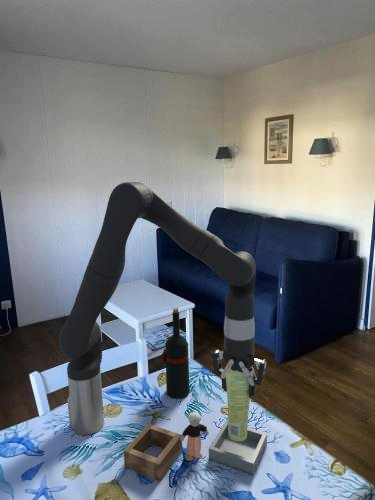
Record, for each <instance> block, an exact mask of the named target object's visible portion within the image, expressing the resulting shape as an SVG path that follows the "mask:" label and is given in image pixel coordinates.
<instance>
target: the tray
mask: <svg viewBox="0 0 375 500" xmlns="http://www.w3.org/2000/svg"><path fill="white" fill-rule="evenodd" d="M267 445H268V432H267V433H266V432H264V431H260V430H257V429H253V428H250V427H248V428H247V438H246V439H245V440H244V441H234V440H232V439H230V437H229V435H228V420H227V421H224V422H223V425H222V427H221V428H220V429H219V431H218V433H217V434H216V436H215V438H214V440H213V441H212V443H210V446H209V447H208V461H210V462H214V463H215V464H219V465H222V466H225V467H228V468H231V469H233V470H236V471H238V472H241V473H244V474H247V475H249V476H252V477H253V476H254V475H255V473H256V471H257V468H258V466H259V464H260V461H261V459H262V456H263V455H264V452H265V450H266V447H267Z"/></svg>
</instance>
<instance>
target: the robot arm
mask: <svg viewBox="0 0 375 500" xmlns="http://www.w3.org/2000/svg"><path fill="white" fill-rule="evenodd" d="M138 219H143V220H145V221H147V222H149V223H151V224H153V225H156V227H158V228H159V229H161V230H162V231H164V232H165V233H166V234H167V235H168V236H169V237H170V238H171V239H172V240H173V241H174V242H175V244H177V245H178V247H180V248H182V249H183V250H184V251H186V253H189V254H190V255H191V256H193V257H194V258H196V259H197V260H199V261H201V262H202V263H204V264H206V266H208V268H210V269H211V271H213V272H214V273H215V274H216V275H217V276H218V277H219V278H220V279H222V280H223V281H224V282H226V283H227V284H228V285H227V292H226V295H225V301H224V302H225V304H224V307H225V308H224V315H225V316H224V323H223V349H224V350H223V351H221V350H220V349H216V350H215V351H213V353H212V363H213V369H214V370H213V371H214V374H215V375H216V376H217V375H219V376H220V377H221V388H222V389H223V392H226V393H227V386H226V376H225V372H226V373H228V372H229V370H230V369H232V370H233V371H239V372H242V373H244V375H245V377H246V378H247V379H248V381H249V383H250V384H249V398H250V399H253V397H256V396H255V395H256V394H257V386H261V385H262V383H263V382H264V380H265V376H266V370H267V364H268V361H267V359H265V358H263V359H258V358H257V357H256V355H255V336H256V335H255V332H256V331H255V330H256V328H255V327H256V326H255V324H256V322H255V299H254V297H255V296H254V294H255V286H256V276H257V263H256V260H255V259H254V257H253V255H251V254H250V253H248V252H247V251H237V252H233V251H232V250H231V249H229V248H228V247H226V246H225V244H224V241H223V240H222V239H220V237H218V236H217V235H215V234H213V233H211V231H209V230H207V229H205V228H204V227H202V225H201V226H200V225H199V224H198V223H197V222H196V223H195V222H194V221H193V220H191V219H189V218H188V217H187V216H185V215H183V214H182V213H180V212H179V211H177V210H176V209H175V208H174V207H172V206H171V205H170V204H168V203H167V202H166V201H165V200H164V199H163V198H162V197H160V196H159V195H158V193H156V192H155V191H154V190H152V188H150V187H149V186H148V185H146V184H145V183H142V182H139V181H126V182H122V183H121V182H120V183H119V184H117V185H116V186H115V187H114V188H113V189H112V191H111V193H110V195H109V197H108V202H107V206H106V209H105V214H104V218H103V222H102V224H101V225H102V226H101V229H100V232H99V235H98V237H97V239H96V242H95V246H94V248H93V250H92V254H91V256H90V257H89V258H90V259H89V261H88V263H87V265H86V268H85V271H84V273H83V276H82V281H81V284H80V286H79V289H78V291H77V294H76V297H75V300H74V304H73V306H72V308H71V310H70V313H69V315H68V317H67V318H66V321H65V323H64V325H63V326H62V329H61V331H60V332H59V335H58V347H59V349H60V351H61V353H62V354H63V355H64V356H65V357H67V358H70V359H69V362H68V363H67V367H66V373H67V375H66V376H67V382H68V393H69V394H68V397H67V399H66V400H67V410H68V420H69V427H71V428H72V431H73V432H74V433H75V434H77V435H80V436H88V435H92V434H95V433H97V432H98V431H100V430H101V429H102V428H103V426H104V425H105V415H104V402H103V401H104V400H103V399H104V398H103V387H102V385H103V384H102V376H101V375H102V374H101V363H102V360H103V343H102V337H103V336H102V330H101V327H100V324H99V323H98V322H97V320H98V318H99V316H100V315H101V313H102V312H103V311H104V309H105V307H106V306H107V304H108V303H109V301H110V300H111V299H112V296H113V295H114V294H115V292H116V290H117V287H118V286H119V282H120V280H121V278H122V276H123V273H124V269H125V266H126V246H127V242H128V239H129V237H130V234H131V232H132V230H133V228H134V226H135V224H136V222H137V220H138ZM222 359H223V360H224V361H225V363H226V365H225V368H224V369H223V365H222V363H223V362H222ZM254 364H255V367H256V369H257V370H258V371H257V376H256V373H255V368H254V367H253V365H254ZM248 369H249V370H248Z"/></svg>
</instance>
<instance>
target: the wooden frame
mask: <svg viewBox="0 0 375 500" xmlns="http://www.w3.org/2000/svg"><path fill="white" fill-rule="evenodd" d="M181 436H182V434H181V433H177V432H175V431H171V430H169V429H166V428H162V427H160V426H157V425H154V424H150V423H148V424H146V426H145V427H144V428H143V429H142V430H141V431H140V432H139V433H138V434H137V436H136V437H134V439H133V440H132V441H131V442H130V443H129V444H128V445H127V446H126V448H125V449H124V450H123V462H124V463H123V465H124V468H125V469H127V470H130V471H132V472H134V473H137V474H139V475H141V476H144V477H146V478H149V479H151V480H154V481H156V482H159V483H160V482H161V481H162V480H163V478H164V477H165V475H166V474H167V473H168V471H170V468H171V467H172V466H173V464H174V463H175V462H176V460H177V459H178V458H179V457H180V455H181V453H182V452H183V441H181V440H180V438H181ZM151 445H152V446H155V447H157V448H160V449H162V452H160V454H159V456H157V457H155V456H153V455H150V454H147V453H145V452H146V451H147V450H148V448H149V447H150V446H151Z"/></svg>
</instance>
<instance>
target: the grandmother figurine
mask: <svg viewBox="0 0 375 500" xmlns="http://www.w3.org/2000/svg"><path fill="white" fill-rule="evenodd" d="M187 419H188V422H189V425H187V426H186V428H185V429H184V430H183V431H182V434H181V435H182V436H181V438H180V440H181V441H182V442H184V440H185V438H186V437H187V439H186V454H185V461H190V462H191V461H192V460H193V459H195V458H196V459H200V458H202V457H203V454H202V452H201V449H202V435H201V432H203V433H204V434H205V435H206V436H209V434H210V433H209V430H208V427H207V426H206V425H204V424H201V423H200V421H201V420H202V417H201V415H200V414H199V413H197V412H195V411H193V412H190V413H189V415H188V417H187Z"/></svg>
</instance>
